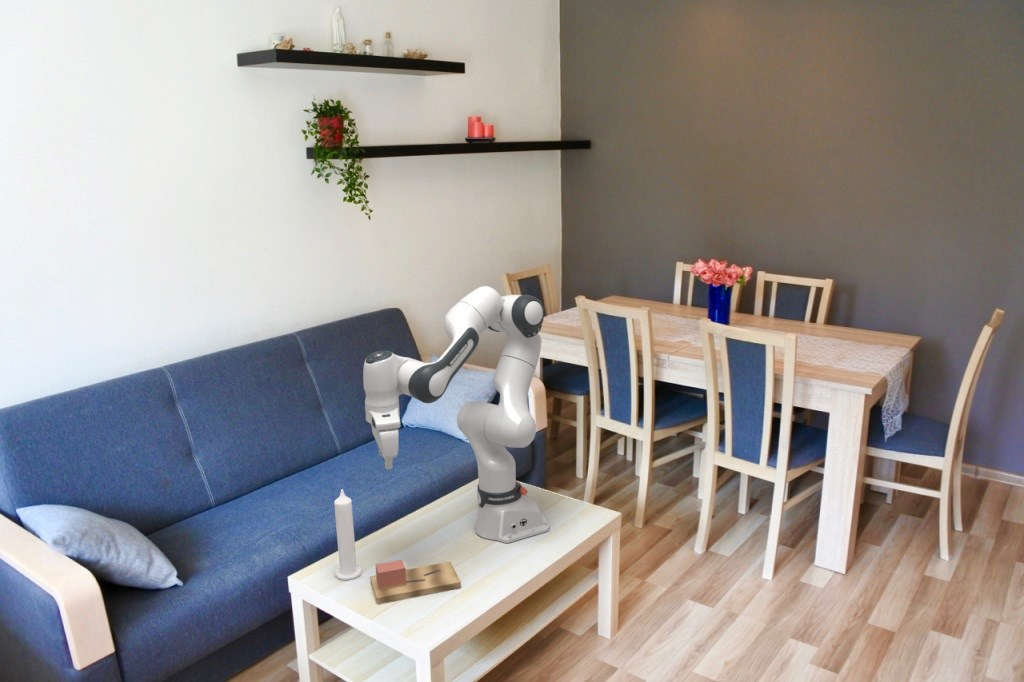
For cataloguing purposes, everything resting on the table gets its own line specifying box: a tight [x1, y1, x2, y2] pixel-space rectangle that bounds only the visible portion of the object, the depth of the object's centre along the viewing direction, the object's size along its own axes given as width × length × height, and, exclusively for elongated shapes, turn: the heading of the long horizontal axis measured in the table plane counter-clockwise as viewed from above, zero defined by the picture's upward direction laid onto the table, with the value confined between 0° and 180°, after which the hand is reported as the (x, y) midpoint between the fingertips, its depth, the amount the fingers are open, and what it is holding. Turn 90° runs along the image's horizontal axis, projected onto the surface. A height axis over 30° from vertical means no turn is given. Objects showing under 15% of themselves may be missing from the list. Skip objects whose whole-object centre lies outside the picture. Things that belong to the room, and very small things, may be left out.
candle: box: [333, 488, 363, 581], centre depth 218 cm, size 7×7×25 cm
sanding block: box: [375, 559, 406, 590], centre depth 212 cm, size 7×4×5 cm, turn 108°
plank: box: [369, 561, 462, 605], centre depth 215 cm, size 22×11×2 cm, turn 108°
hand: (385, 461), depth 217 cm, fingers open, 8 cm apart
